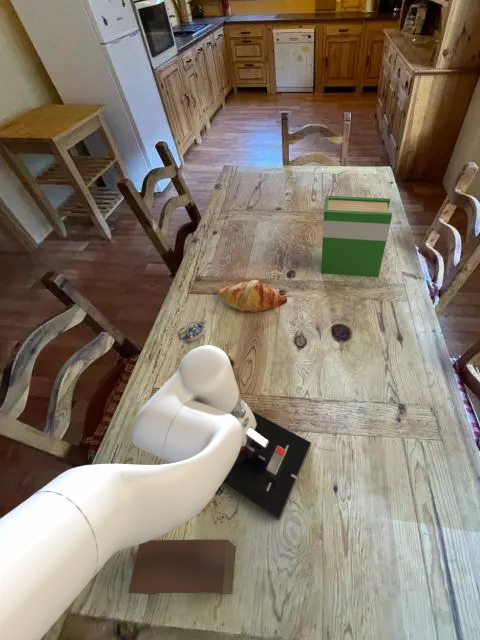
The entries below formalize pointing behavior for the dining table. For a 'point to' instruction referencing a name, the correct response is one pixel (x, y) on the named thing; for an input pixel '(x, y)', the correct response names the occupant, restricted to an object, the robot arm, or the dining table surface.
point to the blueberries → (193, 331)
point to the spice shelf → (184, 567)
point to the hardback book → (354, 235)
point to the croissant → (251, 296)
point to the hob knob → (277, 463)
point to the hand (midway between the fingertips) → (232, 437)
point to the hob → (252, 472)
